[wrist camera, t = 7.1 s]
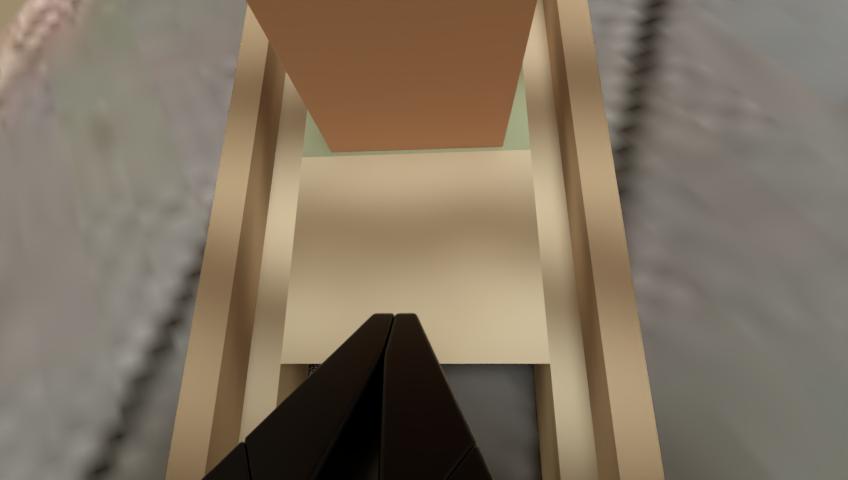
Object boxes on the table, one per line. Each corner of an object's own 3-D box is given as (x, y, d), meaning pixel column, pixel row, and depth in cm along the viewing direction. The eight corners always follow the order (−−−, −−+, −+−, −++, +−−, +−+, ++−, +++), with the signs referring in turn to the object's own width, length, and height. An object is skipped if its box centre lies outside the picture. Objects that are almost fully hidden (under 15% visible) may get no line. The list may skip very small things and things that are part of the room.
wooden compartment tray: (622, 614, 12) (706, 736, 8) (226, 598, 12) (126, 703, 8) (535, -99, 21) (554, -204, 17) (309, -82, 21) (279, -179, 18)
